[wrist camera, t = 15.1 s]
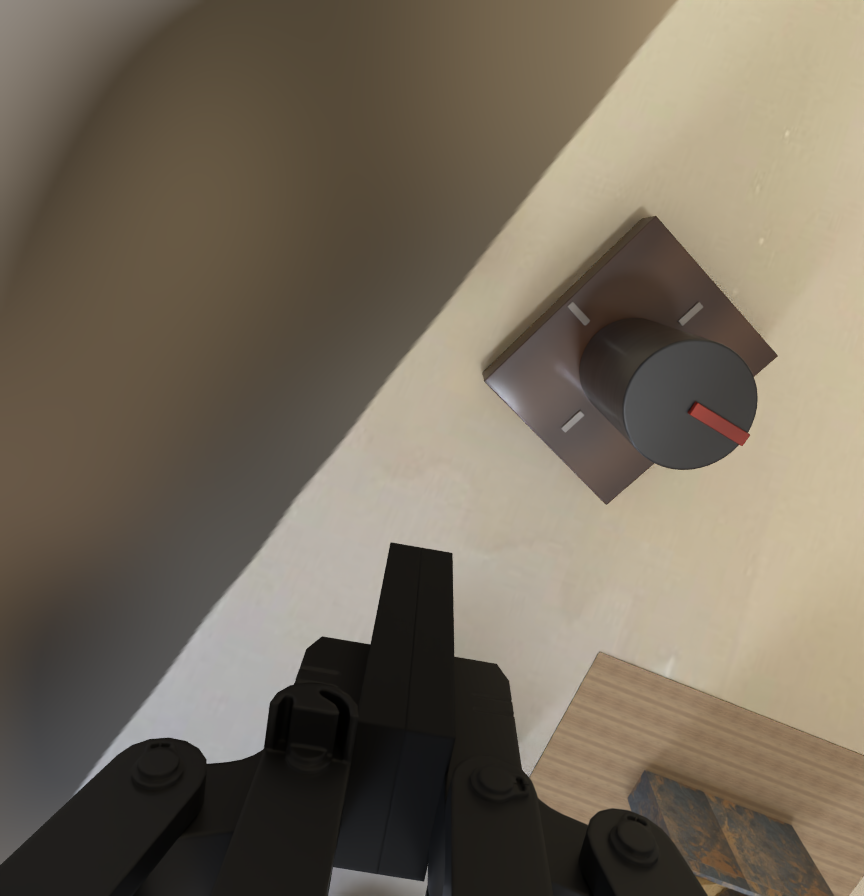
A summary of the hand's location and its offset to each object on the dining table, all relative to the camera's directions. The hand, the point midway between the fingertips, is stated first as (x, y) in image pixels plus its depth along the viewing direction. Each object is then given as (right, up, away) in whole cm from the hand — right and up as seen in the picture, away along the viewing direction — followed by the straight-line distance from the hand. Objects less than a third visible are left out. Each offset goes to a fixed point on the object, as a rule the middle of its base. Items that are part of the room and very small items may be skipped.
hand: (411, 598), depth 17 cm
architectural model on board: (+20, -21, +31) cm, 43 cm away
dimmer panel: (+11, +9, +23) cm, 27 cm away
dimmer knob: (+11, +8, +20) cm, 24 cm away
